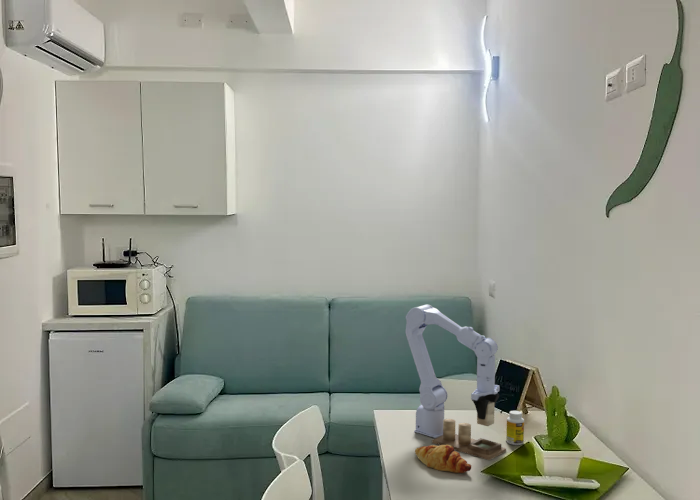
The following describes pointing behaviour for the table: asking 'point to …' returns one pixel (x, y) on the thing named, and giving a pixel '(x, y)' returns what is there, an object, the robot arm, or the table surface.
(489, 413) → the maple block
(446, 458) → the croissant
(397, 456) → the table surface
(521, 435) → the supplement bottle
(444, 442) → the walnut rail
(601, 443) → the table surface
